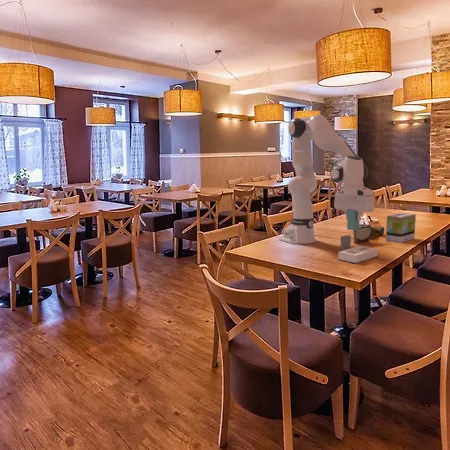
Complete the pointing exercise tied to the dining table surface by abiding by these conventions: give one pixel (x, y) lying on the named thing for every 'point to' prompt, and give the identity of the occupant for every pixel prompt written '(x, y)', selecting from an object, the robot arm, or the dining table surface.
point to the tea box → (400, 227)
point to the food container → (362, 234)
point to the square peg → (352, 219)
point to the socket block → (357, 254)
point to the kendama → (376, 231)
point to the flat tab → (345, 242)
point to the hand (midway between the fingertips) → (353, 219)
